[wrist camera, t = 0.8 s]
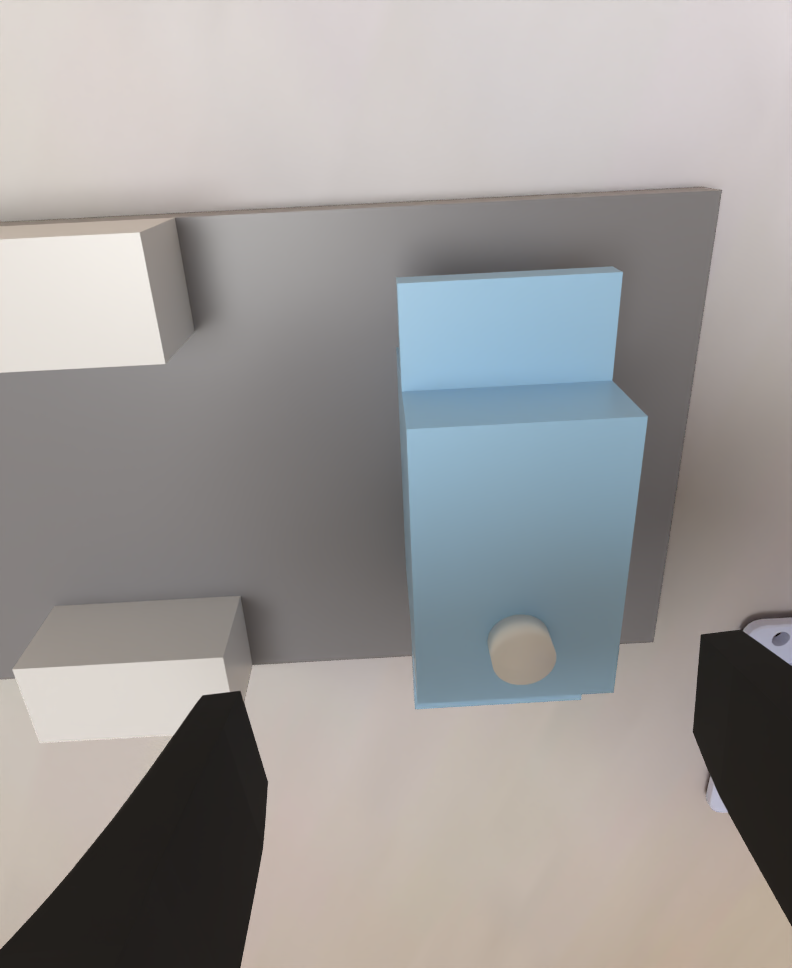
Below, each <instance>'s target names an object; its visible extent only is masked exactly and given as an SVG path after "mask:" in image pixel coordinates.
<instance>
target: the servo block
mask: <svg viewBox="0 0 792 968" xmlns="http://www.w3.org/2000/svg"><path fill="white" fill-rule="evenodd" d="M622 277H623V272H622V271H620V270H618V269H616V268H615V267H613V266H609V267H589V268H570V269H550V270H531V271H511V272H492V273H472V274H453V275H433V276H414V277H396V288H397V311H398V335H399V347H396V354H397V377H398V399H399V422H400V444H401V467H402V489H403V512H404V534H405V557H406V574H407V586H408V597H409V609H410V621H411V639H412V663H413V686H414V701H415V709H427V708H444V707H462V706H479V705H496V704H514V703H531V702H548V701H565V700H581V695H582V694H597V693H614V685H615V677H616V669H617V661H618V653H619V645H620V637H621V629H622V621H623V613H624V605H625V597H626V589H627V581H628V573H629V564H630V556H631V548H632V540H633V532H634V524H635V516H636V508H637V500H638V492H639V484H640V476H641V468H642V460H643V452H644V444H645V436H646V428H647V420H648V416H647V415H646V414H645V413H644V412H643V411H642V410H641V409H640V408H639V407H638V406H637V405H636V404H635V403H634V402H633V401H632V400H631V399H630V398H629V397H628V396H627V395H626V394H625V393H624V392H623V391H622V390H621V389H620V388H619V387H618V386H617V385H616V384H615V383H614V382H613V381H612V379H613V368H614V358H615V348H616V338H617V328H618V317H619V307H620V297H621V287H622Z"/></svg>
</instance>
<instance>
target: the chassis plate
mask: <svg viewBox="0 0 792 968" xmlns="http://www.w3.org/2000/svg"><path fill="white" fill-rule="evenodd" d="M721 193H722V190H717V189H711V188H705V187H693V188H673V189H653V190H633V191H613V192H593V193H573V194H553V195H533V196H513V197H493V198H473V199H453V200H433V201H413V202H393V203H373V204H353V205H333V206H313V207H293V208H273V209H253V210H233V211H213V212H193V213H173V214H153V215H133V216H113V217H93V218H73V219H53V220H33V221H13V222H0V679H15V678H16V681H17V684H18V687H19V689H20V692H21V695H22V697H23V700H24V703H25V705H26V708H27V711H28V713H29V716H30V719H31V722H32V724H33V727H34V730H35V732H36V735H37V738H38V740H39V743H52V742H69V741H86V740H103V739H121V738H138V737H155V736H172V735H174V734H175V733H176V731H177V730H178V728H179V727H180V725H181V724H182V723H183V721H184V720H185V718H186V717H187V715H188V714H189V713H190V711H191V710H192V708H193V707H194V705H195V704H196V703H197V701H198V700H199V699H200V698H201V697H202V695H209V694H217V693H225V692H234V691H241V694H242V698H243V701H245V696H246V692H247V687H248V683H249V678H250V674H251V669H252V665H261V664H278V663H296V662H313V661H331V660H348V659H366V658H384V657H401V656H412V639H411V621H410V609H409V597H408V586H407V574H406V557H405V534H404V512H403V489H402V467H401V444H400V422H399V399H398V377H397V354H396V347H399V335H398V311H397V288H396V277H414V276H433V275H453V274H472V273H492V272H511V271H531V270H550V269H570V268H589V267H609V266H613V267H615V268H616V269H618V270H620V271H622V272H623V277H622V287H621V297H620V307H619V317H618V328H617V338H616V348H615V358H614V368H613V379H612V381H613V382H614V383H615V384H616V385H617V386H618V387H619V388H620V389H621V390H622V391H623V392H624V393H625V394H626V395H627V396H628V397H629V398H630V399H631V400H632V401H633V402H634V403H635V404H636V405H637V406H638V407H639V408H640V409H641V410H642V411H643V412H644V413H645V414H646V415H647V416H648V420H647V428H646V436H645V444H644V452H643V460H642V468H641V476H640V484H639V492H638V500H637V508H636V516H635V524H634V532H633V540H632V548H631V556H630V564H629V573H628V581H627V589H626V597H625V605H624V613H623V621H622V629H621V637H620V644H629V643H647V642H653V641H654V635H655V628H656V622H657V615H658V608H659V602H660V595H661V589H662V582H663V575H664V569H665V562H666V556H667V549H668V542H669V536H670V529H671V523H672V516H673V509H674V503H675V496H676V490H677V483H678V476H679V470H680V463H681V457H682V450H683V443H684V437H685V430H686V424H687V417H688V410H689V404H690V397H691V391H692V384H693V377H694V371H695V364H696V358H697V351H698V344H699V338H700V331H701V325H702V318H703V311H704V305H705V298H706V292H707V285H708V278H709V272H710V265H711V259H712V252H713V245H714V239H715V232H716V226H717V219H718V212H719V206H720V199H721Z"/></svg>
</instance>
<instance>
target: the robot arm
mask: <svg viewBox="0 0 792 968" xmlns="http://www.w3.org/2000/svg"><path fill="white" fill-rule="evenodd" d="M780 632H781V634H780V635H778V636H777V637H774V636H775V635H776V634H777V633H780ZM693 733H694V736H695V739H696V741H697V744H698V746H699V749H700V751H701V754H702V756H703V759H704V761H705V764H706V766H707V769H708V771H709V773H710V779H709V784H708V788H707V793H706V800H707V802H708V804H709V806H710V808H711V809H712V810H714V811H716V812H728V813H729V815H730V817H731V819H732V820H733V822H734V824H735V826H736V828H737V829H738V831H739V833H740V835H741V837H742V838H743V840H744V842H745V844H746V846H747V847H748V849H749V851H750V853H751V855H752V856H753V858H754V860H755V862H756V864H757V865H758V867H759V869H760V871H761V872H762V874H763V876H764V878H765V880H766V881H767V883H768V885H769V887H770V888H771V890H772V892H773V894H774V896H775V897H776V899H777V901H778V903H779V905H780V906H781V908H782V910H783V912H784V913H785V915H786V917H787V919H788V921H789V922H790V924H791V926H792V617H790V618H772V619H760V620H755V621H753V622H751V623H749V624H748V625H747V626H746V627H745V628H744V630H743V631H742V630H735V631H726V632H718V633H710V634H702V635H701V641H700V653H699V665H698V677H697V689H696V701H695V713H694V725H693ZM267 787H268V781H267V778H266V774H265V771H264V768H263V764H262V761H261V758H260V754H259V751H258V748H257V744H256V741H255V738H254V734H253V731H252V728H251V724H250V721H249V718H248V714H247V711H246V708H245V704H244V701H243V698H242V694H241V691H234V692H225V693H217V694H209V695H202V697H201V698H200V699H199V700H198V701H197V703H196V704H195V705H194V707H193V708H192V710H191V711H190V713H189V714H188V715H187V717H186V718H185V720H184V721H183V723H182V724H181V725H180V727H179V728H178V730H177V731H176V733H175V734H174V735H173V737H172V738H171V740H170V741H169V743H168V744H167V746H166V747H165V748H164V750H163V751H162V753H161V754H160V755H159V757H158V758H157V760H156V761H155V762H154V764H153V765H152V767H151V768H150V769H149V771H148V772H147V774H146V775H145V776H144V778H143V779H142V780H141V782H140V783H139V784H138V786H137V787H136V788H135V790H134V791H133V793H132V794H131V795H130V797H129V798H128V799H127V801H126V802H125V803H124V805H123V806H122V807H121V809H120V810H119V811H118V813H117V814H116V815H115V817H114V818H113V819H112V821H111V822H110V823H109V824H108V826H107V827H106V828H105V829H104V831H103V832H102V833H101V834H100V836H99V837H98V838H97V839H96V840H95V842H94V843H93V844H92V845H91V847H90V848H89V849H88V850H87V852H86V853H85V854H84V855H83V857H82V858H81V859H80V860H79V862H78V863H77V864H76V865H75V867H74V868H73V869H72V870H71V871H70V873H69V874H68V875H67V876H66V877H65V879H64V880H63V881H62V882H61V883H60V884H59V885H58V887H57V888H56V889H55V890H54V891H53V892H52V894H51V895H50V896H49V897H48V898H47V899H46V900H45V902H44V903H43V904H42V905H41V906H40V907H39V908H38V909H37V911H36V912H35V913H34V914H33V915H32V916H31V917H30V918H29V919H28V920H27V921H26V923H25V924H24V925H23V926H22V927H21V928H20V929H19V930H18V931H17V932H16V933H15V934H14V936H13V937H12V938H11V939H10V940H9V941H8V942H7V943H6V944H5V945H4V946H3V947H2V948H1V949H0V968H240V967H241V961H242V956H243V951H244V946H245V941H246V935H247V930H248V925H249V920H250V915H251V910H252V904H253V899H254V894H255V888H256V883H257V878H258V872H259V867H260V862H261V856H262V850H263V841H264V830H265V818H266V803H267Z"/></svg>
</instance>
